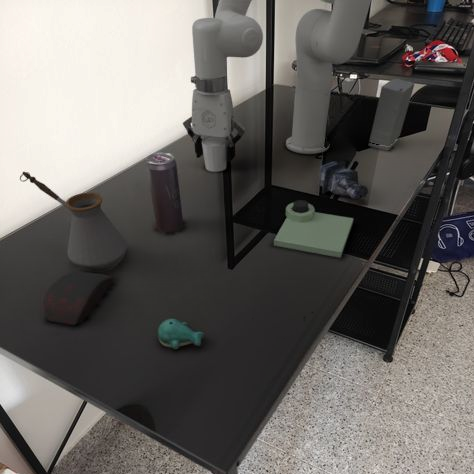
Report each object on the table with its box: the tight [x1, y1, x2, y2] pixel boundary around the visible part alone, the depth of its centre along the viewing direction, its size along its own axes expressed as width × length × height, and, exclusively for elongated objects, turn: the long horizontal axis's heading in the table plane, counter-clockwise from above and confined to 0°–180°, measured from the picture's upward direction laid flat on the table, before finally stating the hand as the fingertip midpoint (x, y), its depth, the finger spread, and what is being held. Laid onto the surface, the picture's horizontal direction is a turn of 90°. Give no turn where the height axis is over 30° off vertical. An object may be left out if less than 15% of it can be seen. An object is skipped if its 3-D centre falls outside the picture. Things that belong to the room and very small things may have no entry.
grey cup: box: [202, 136, 229, 173], centre depth 114 cm, size 7×7×7 cm
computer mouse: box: [43, 271, 114, 326], centre depth 77 cm, size 8×14×4 cm, turn 165°
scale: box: [273, 202, 354, 259], centre depth 91 cm, size 15×14×3 cm
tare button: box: [292, 199, 309, 213], centre depth 94 cm, size 3×3×2 cm
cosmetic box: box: [368, 78, 415, 152], centre depth 120 cm, size 8×7×16 cm
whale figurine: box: [157, 318, 205, 350], centre depth 69 cm, size 6×7×4 cm
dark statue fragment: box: [317, 160, 369, 201], centre depth 102 cm, size 6×13×6 cm, turn 43°
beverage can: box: [145, 152, 184, 234], centre depth 90 cm, size 6×6×15 cm
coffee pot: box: [19, 171, 128, 273], centre depth 83 cm, size 21×12×15 cm, turn 59°
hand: (215, 157), depth 115 cm, fingers open, 8 cm apart
